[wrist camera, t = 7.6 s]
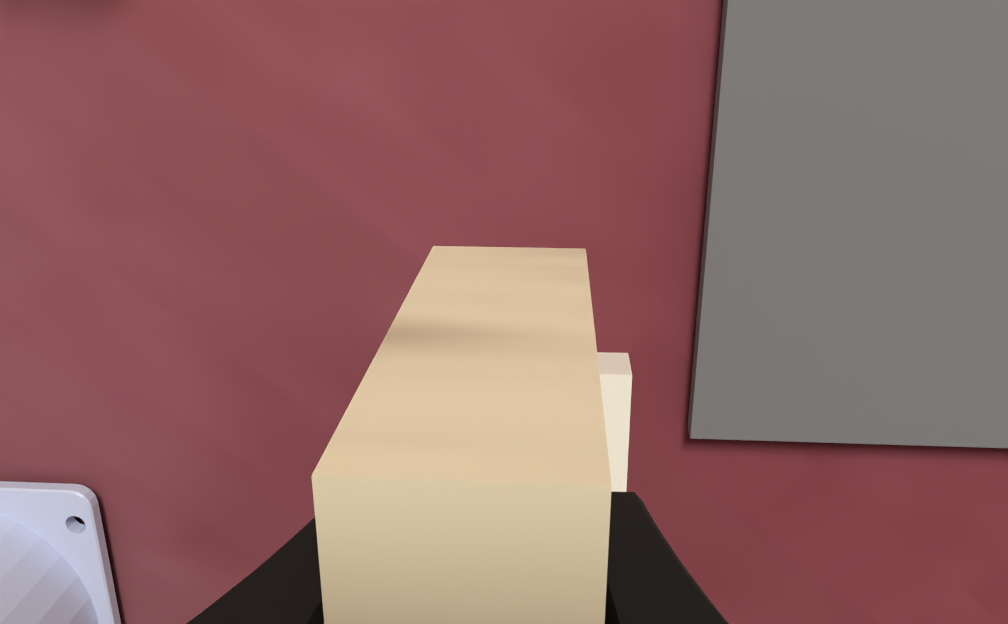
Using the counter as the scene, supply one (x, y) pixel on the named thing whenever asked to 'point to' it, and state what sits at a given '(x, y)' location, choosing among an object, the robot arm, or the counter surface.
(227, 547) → the counter surface
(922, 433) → the mat
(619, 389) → the tile
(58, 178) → the counter surface
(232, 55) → the counter surface
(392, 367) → the light wooden block
